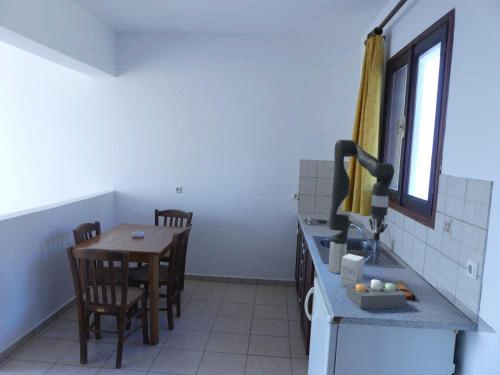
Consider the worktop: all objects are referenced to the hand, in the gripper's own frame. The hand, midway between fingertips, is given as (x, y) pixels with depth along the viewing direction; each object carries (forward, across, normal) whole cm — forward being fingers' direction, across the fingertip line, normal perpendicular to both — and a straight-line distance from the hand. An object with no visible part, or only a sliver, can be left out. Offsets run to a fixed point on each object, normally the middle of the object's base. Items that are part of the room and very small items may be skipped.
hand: (376, 240), depth 168 cm
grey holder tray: (+27, +8, -3) cm, 28 cm away
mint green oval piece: (+25, +8, +4) cm, 26 cm away
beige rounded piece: (+25, +8, -11) cm, 28 cm away
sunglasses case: (+28, 0, +16) cm, 32 cm away
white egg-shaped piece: (+23, +8, -3) cm, 24 cm away
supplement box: (+27, -12, -5) cm, 30 cm away
